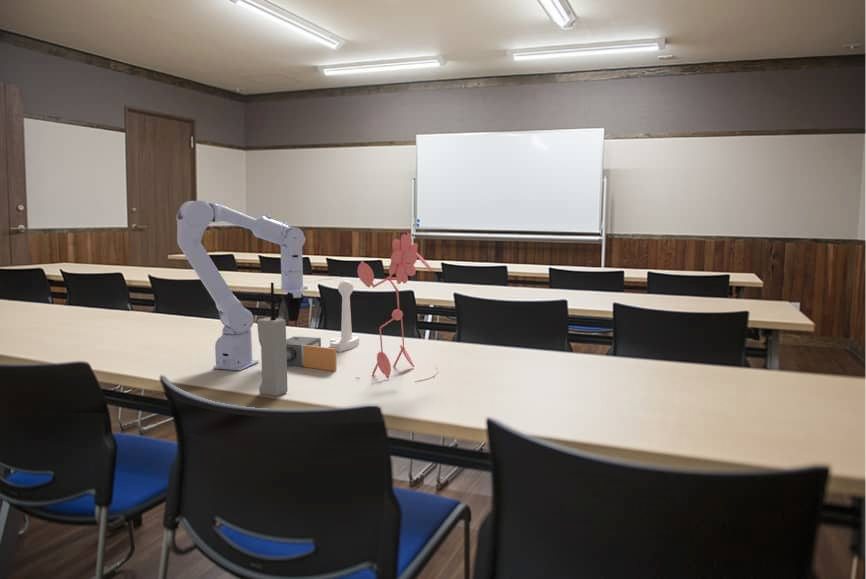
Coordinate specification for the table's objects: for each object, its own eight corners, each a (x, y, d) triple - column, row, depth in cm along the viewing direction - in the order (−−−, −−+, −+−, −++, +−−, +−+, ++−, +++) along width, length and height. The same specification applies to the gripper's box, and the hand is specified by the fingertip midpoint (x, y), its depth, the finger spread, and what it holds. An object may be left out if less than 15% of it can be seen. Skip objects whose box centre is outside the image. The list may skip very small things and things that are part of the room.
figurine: (348, 381, 153) (349, 234, 148) (408, 360, 175) (411, 231, 170) (401, 392, 145) (404, 237, 140) (457, 368, 167) (461, 233, 162)
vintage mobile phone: (270, 389, 146) (267, 280, 143) (287, 392, 144) (284, 281, 141) (259, 393, 143) (255, 282, 140) (276, 397, 141) (273, 283, 138)
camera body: (301, 367, 166) (301, 344, 166) (273, 365, 169) (273, 342, 168) (321, 357, 177) (320, 336, 176) (294, 355, 180) (294, 334, 179)
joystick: (343, 352, 184) (342, 282, 182) (320, 349, 187) (319, 281, 184) (362, 344, 194) (361, 278, 192) (341, 342, 197) (340, 277, 195)
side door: (301, 366, 167) (300, 345, 166) (303, 365, 168) (302, 344, 167) (334, 371, 162) (334, 349, 162) (336, 370, 163) (336, 348, 163)
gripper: (312, 273, 169) (313, 324, 171) (301, 268, 182) (302, 315, 184) (285, 274, 166) (286, 325, 168) (276, 269, 179) (277, 317, 181)
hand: (293, 320), depth 176 cm, fingers closed
